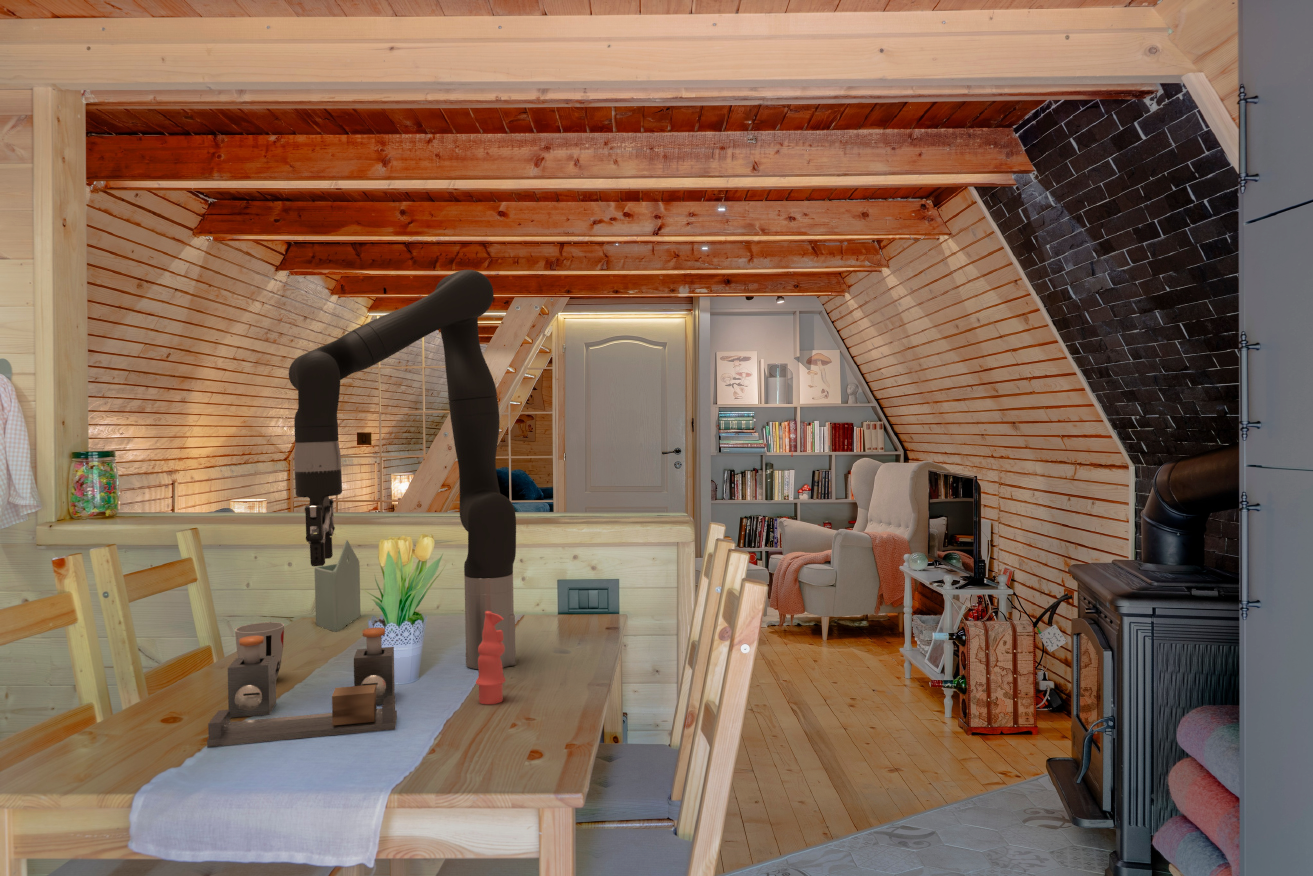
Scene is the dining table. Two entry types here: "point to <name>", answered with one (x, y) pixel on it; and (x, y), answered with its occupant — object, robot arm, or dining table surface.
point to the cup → (272, 639)
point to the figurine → (491, 661)
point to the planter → (338, 591)
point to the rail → (293, 726)
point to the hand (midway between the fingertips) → (322, 562)
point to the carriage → (354, 704)
